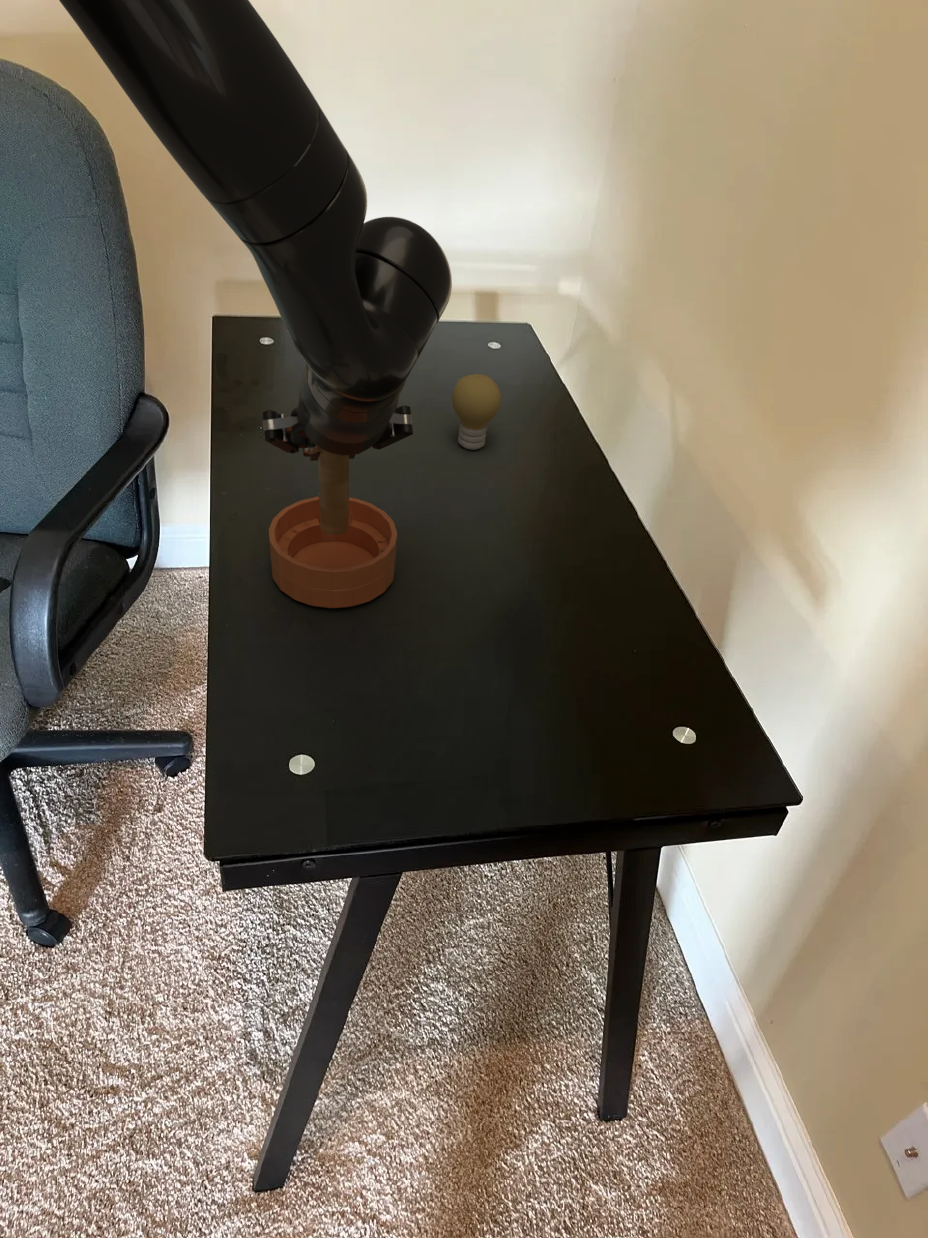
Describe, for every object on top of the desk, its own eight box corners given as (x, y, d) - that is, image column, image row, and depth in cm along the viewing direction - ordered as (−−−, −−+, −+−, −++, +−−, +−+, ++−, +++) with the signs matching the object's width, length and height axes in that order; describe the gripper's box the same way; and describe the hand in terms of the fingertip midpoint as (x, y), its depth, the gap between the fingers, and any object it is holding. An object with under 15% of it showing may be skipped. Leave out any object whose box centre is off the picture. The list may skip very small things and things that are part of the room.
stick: (321, 536, 85) (319, 432, 77) (318, 519, 87) (315, 416, 79) (350, 534, 85) (351, 430, 77) (346, 517, 88) (346, 415, 80)
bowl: (277, 617, 84) (274, 576, 80) (267, 539, 93) (264, 499, 90) (404, 606, 87) (407, 565, 83) (383, 532, 96) (384, 492, 93)
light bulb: (456, 459, 110) (463, 389, 103) (441, 434, 114) (448, 367, 108) (500, 455, 112) (510, 387, 105) (485, 431, 116) (493, 364, 110)
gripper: (429, 347, 67) (395, 410, 84) (253, 350, 64) (254, 415, 81) (439, 438, 67) (403, 483, 84) (262, 446, 64) (262, 491, 81)
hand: (330, 449), depth 82 cm, fingers closed on stick, 3 cm apart
